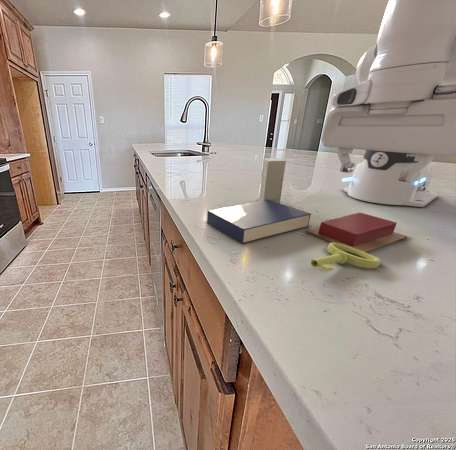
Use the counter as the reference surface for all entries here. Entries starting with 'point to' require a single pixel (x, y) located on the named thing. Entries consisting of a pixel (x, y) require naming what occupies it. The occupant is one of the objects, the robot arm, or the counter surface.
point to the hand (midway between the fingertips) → (373, 176)
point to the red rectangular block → (357, 228)
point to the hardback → (257, 220)
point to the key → (345, 257)
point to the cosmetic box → (272, 179)
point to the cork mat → (368, 245)
